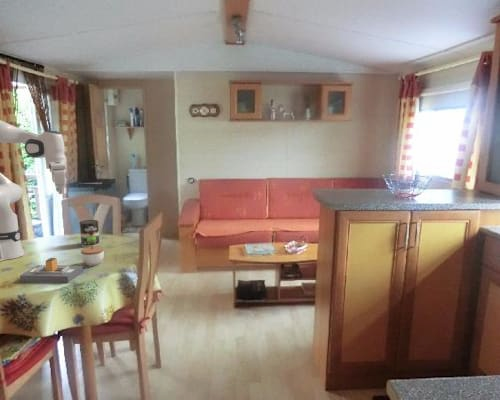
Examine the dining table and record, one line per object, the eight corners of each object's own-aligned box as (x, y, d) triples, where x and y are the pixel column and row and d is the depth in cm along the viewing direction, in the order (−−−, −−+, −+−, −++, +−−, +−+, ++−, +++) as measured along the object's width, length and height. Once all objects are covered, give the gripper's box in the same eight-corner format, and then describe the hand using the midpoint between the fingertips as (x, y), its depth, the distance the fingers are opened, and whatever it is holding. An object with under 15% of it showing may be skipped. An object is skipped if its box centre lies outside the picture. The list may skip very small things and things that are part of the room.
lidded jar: (78, 263, 188) (77, 246, 186) (98, 258, 196) (97, 241, 194) (88, 269, 181) (86, 250, 179) (108, 263, 189) (107, 246, 187)
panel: (20, 281, 165) (19, 272, 164) (38, 271, 178) (37, 262, 177) (68, 282, 164) (67, 273, 163) (82, 271, 177) (82, 263, 176)
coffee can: (101, 245, 219) (99, 222, 216) (82, 248, 213) (81, 224, 211) (98, 241, 227) (96, 218, 225) (79, 243, 222) (78, 221, 219)
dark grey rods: (47, 269, 180) (46, 266, 180) (50, 267, 183) (50, 264, 183) (80, 270, 179) (80, 267, 179) (83, 267, 182) (83, 265, 182)
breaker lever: (46, 271, 169) (45, 260, 168) (51, 268, 172) (50, 257, 171) (52, 271, 168) (51, 260, 167) (57, 268, 172) (56, 257, 171)
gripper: (47, 163, 184) (50, 190, 187) (51, 166, 167) (54, 195, 170) (61, 162, 188) (64, 189, 190) (66, 165, 171) (69, 194, 173)
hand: (59, 192), depth 180 cm, fingers open, 8 cm apart
